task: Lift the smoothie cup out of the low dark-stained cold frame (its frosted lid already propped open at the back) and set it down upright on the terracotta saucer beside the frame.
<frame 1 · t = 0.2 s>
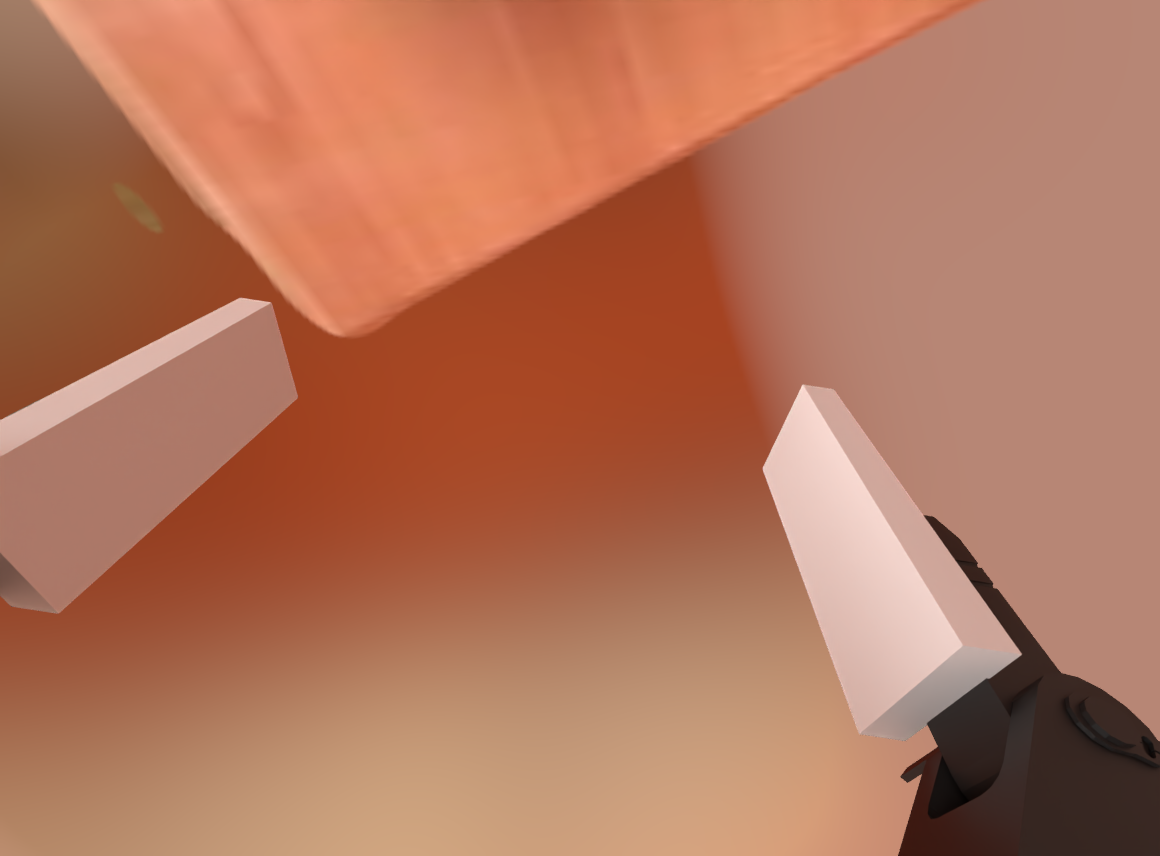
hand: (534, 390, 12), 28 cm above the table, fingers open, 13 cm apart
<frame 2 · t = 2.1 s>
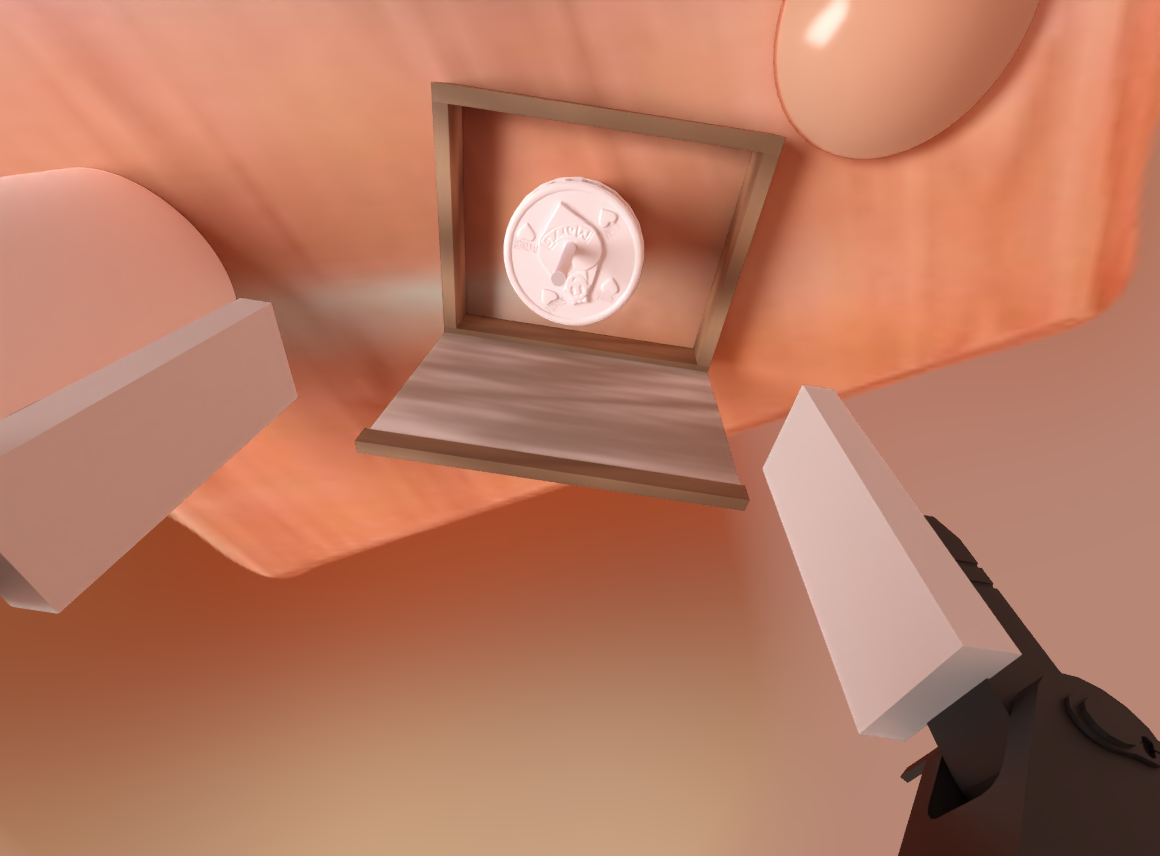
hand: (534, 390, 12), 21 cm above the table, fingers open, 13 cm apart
cold frame: (592, 241, 29), on the table
canister: (142, 273, 33), on the table
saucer: (893, 24, 22), on the table
smoothie: (587, 214, 28), resting in cold frame
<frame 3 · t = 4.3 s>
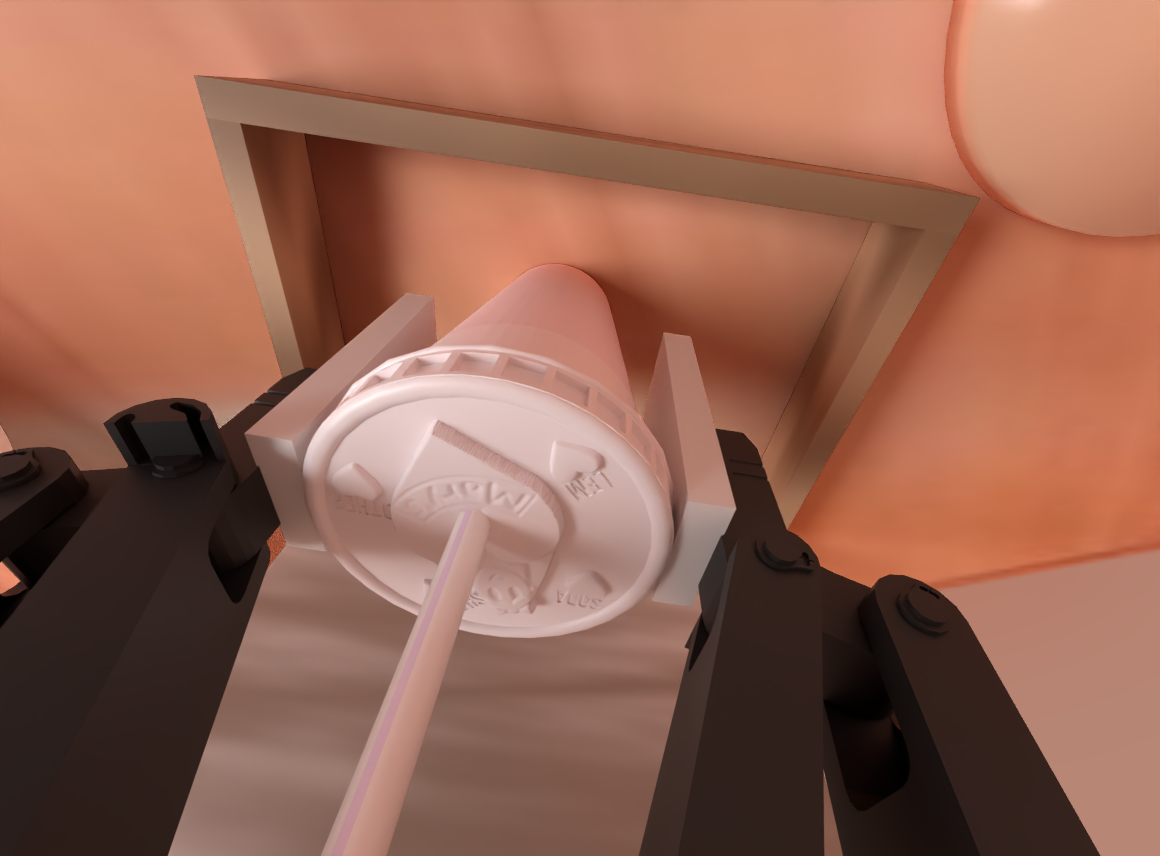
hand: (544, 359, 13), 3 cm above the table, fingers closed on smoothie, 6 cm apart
cold frame: (566, 360, 17), on the table
smoothie: (557, 317, 16), resting in cold frame, touching gripper
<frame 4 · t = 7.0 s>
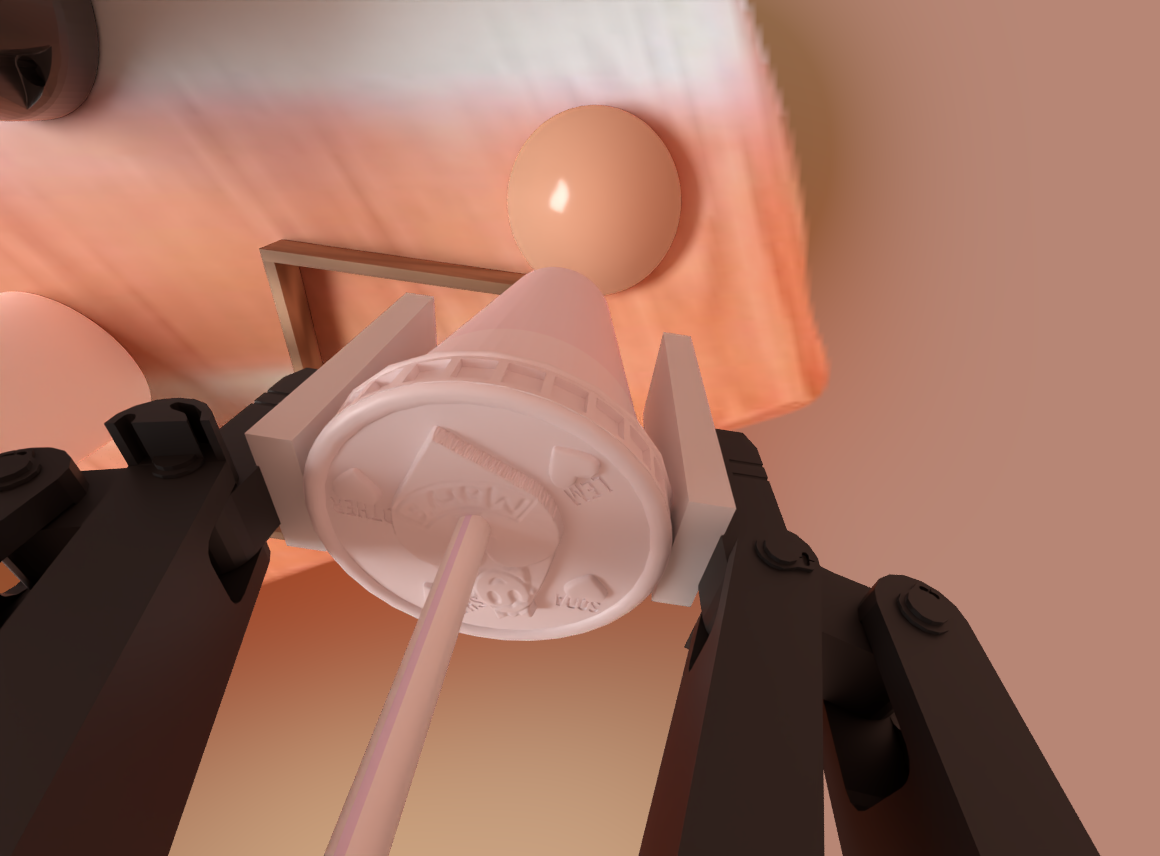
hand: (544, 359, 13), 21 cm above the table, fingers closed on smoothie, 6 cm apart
cold frame: (415, 345, 37), on the table
canister: (71, 364, 41), on the table
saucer: (593, 207, 30), on the table
smoothie: (557, 319, 16), point 18 cm above the table, touching gripper
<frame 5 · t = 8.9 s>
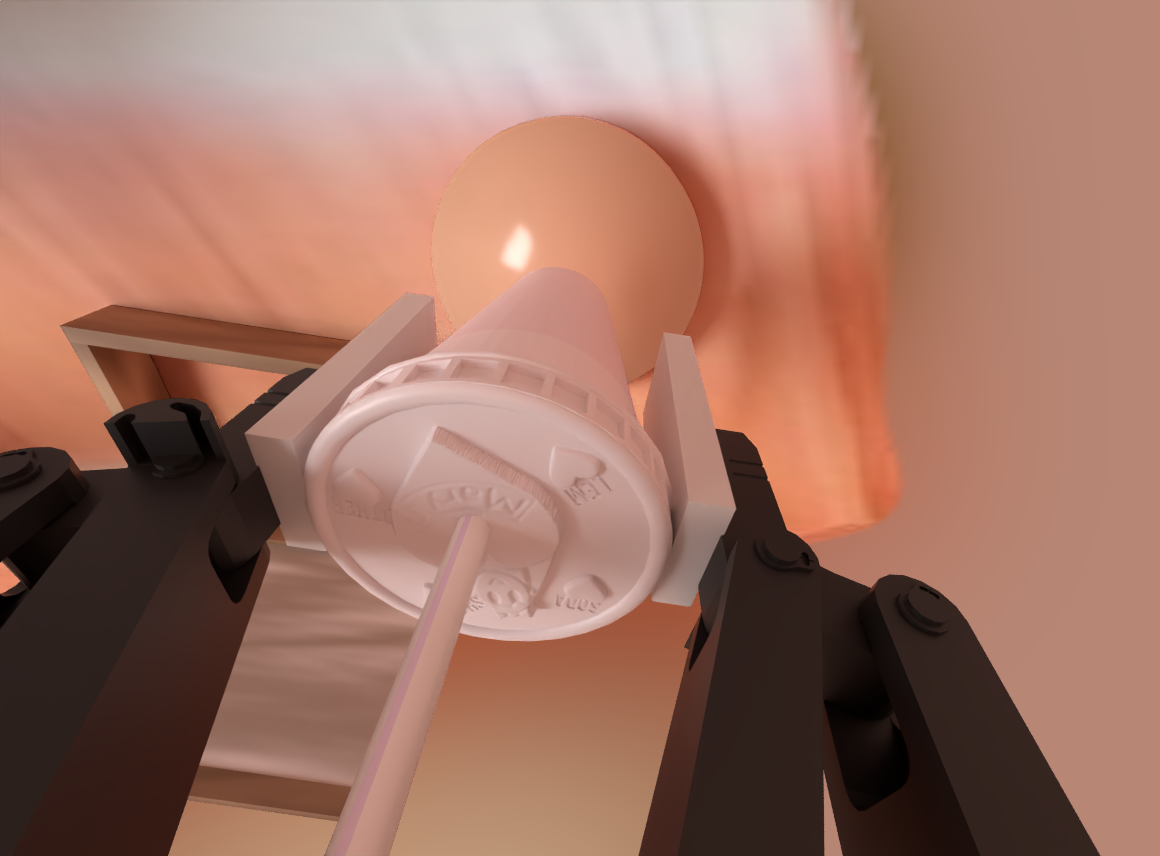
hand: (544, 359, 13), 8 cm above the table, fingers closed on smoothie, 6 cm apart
cold frame: (323, 443, 27), on the table
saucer: (568, 270, 20), on the table
smoothie: (557, 319, 16), point 5 cm above the table, touching gripper
when the fingers open (5 cm above the table, at t = 10.2 s): smoothie stays where it is, resting on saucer.
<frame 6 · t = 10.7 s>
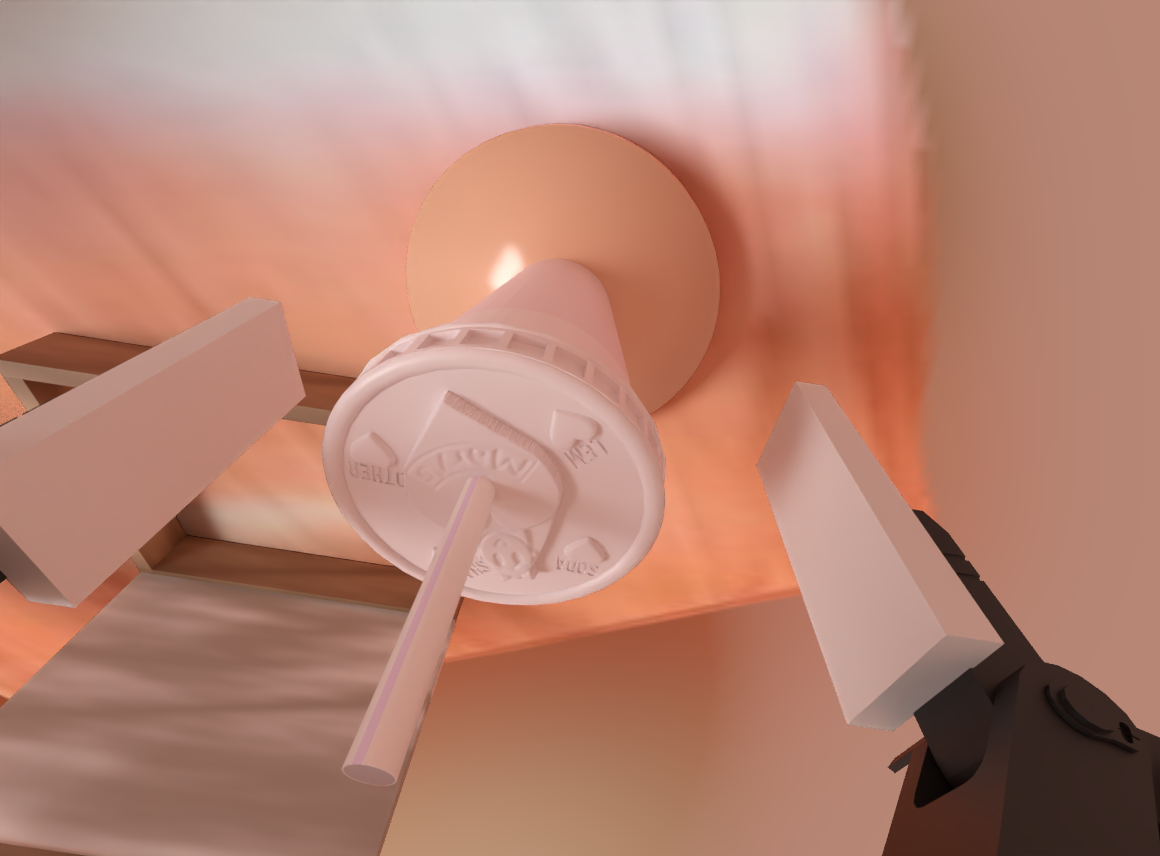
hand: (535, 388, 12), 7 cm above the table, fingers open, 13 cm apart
cold frame: (296, 480, 24), on the table
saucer: (563, 298, 17), on the table
smoothie: (559, 310, 16), point 1 cm above the table, touching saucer
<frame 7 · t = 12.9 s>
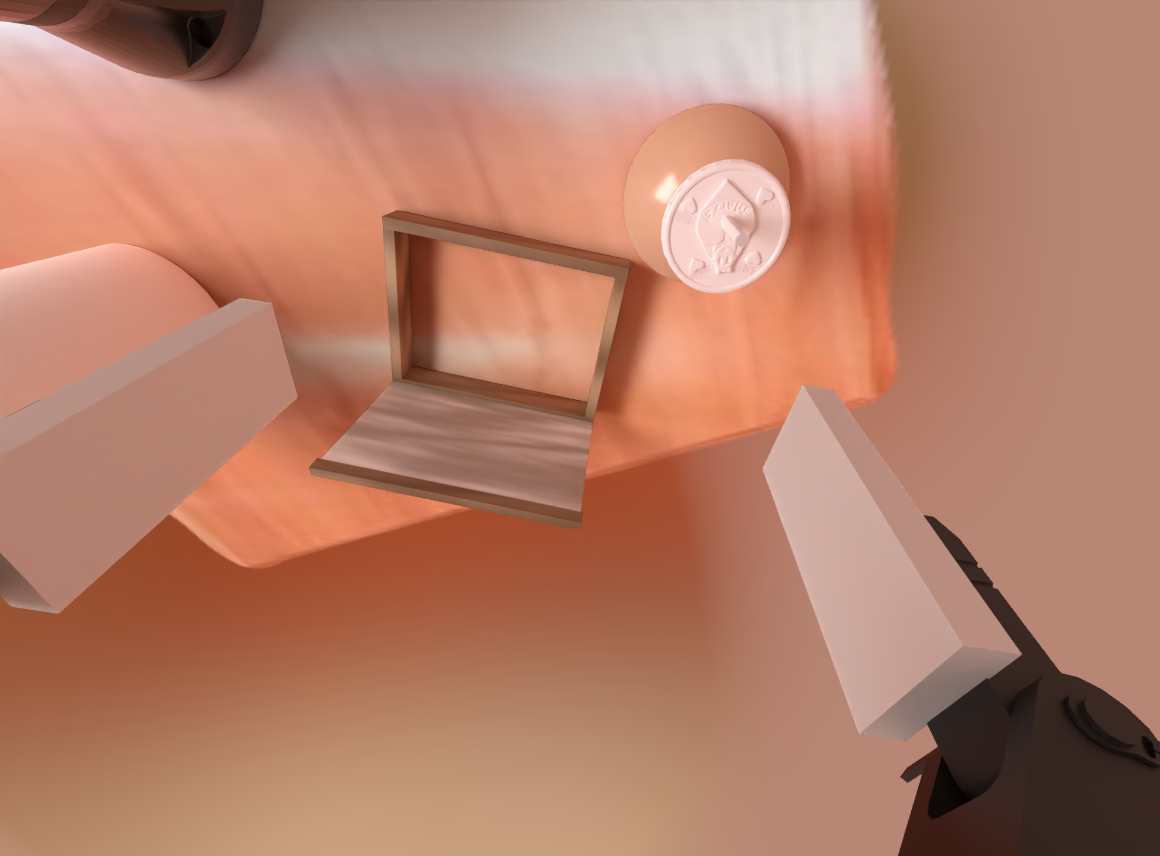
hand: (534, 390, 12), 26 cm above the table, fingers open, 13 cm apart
cold frame: (506, 321, 39), on the table
canister: (161, 319, 43), on the table
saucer: (702, 199, 32), on the table
smoothie: (703, 202, 31), point 1 cm above the table, touching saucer
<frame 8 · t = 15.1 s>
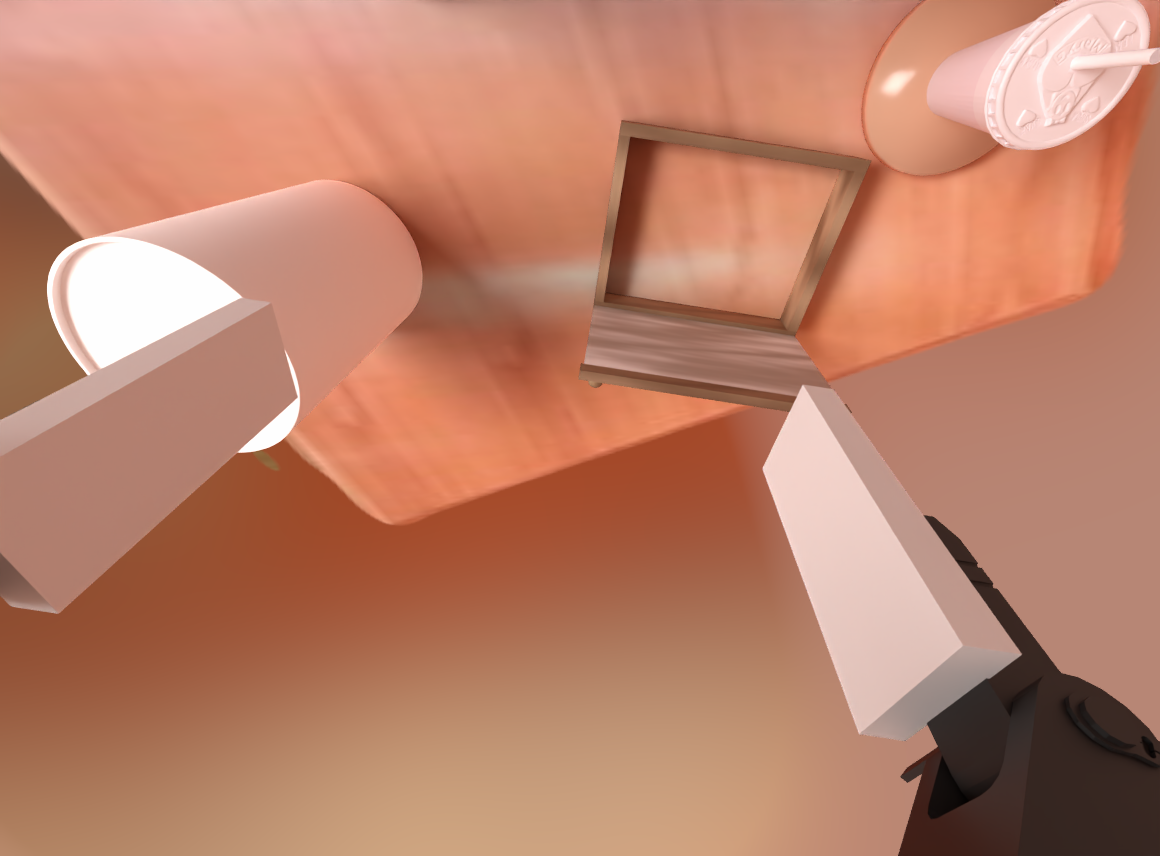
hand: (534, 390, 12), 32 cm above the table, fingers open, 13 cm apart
cold frame: (712, 235, 39), on the table
canister: (351, 261, 43), on the table
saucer: (948, 83, 32), on the table
smoothie: (955, 83, 31), point 1 cm above the table, touching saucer
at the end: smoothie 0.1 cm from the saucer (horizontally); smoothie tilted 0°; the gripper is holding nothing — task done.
